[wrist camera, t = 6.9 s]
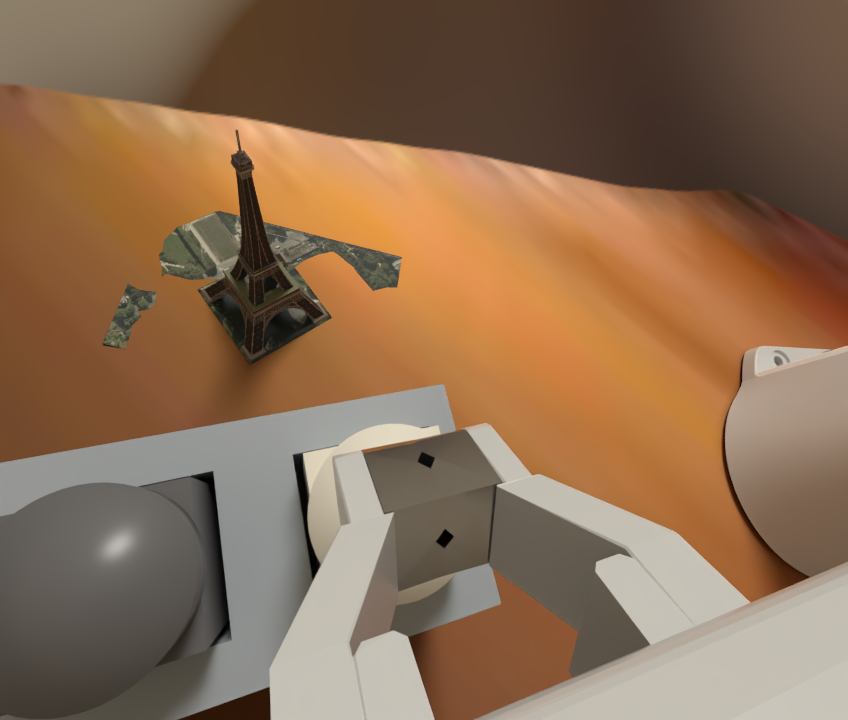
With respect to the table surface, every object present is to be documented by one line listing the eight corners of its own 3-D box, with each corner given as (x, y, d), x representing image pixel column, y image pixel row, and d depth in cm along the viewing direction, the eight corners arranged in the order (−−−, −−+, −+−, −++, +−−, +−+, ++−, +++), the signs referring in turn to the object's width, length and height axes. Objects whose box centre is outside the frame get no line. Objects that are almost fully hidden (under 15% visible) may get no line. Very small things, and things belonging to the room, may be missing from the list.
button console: (398, 427, 26) (443, 383, 18) (432, 574, 24) (501, 603, 15) (-98, 528, 19) (-402, 534, 11) (-114, 748, 17) (-510, 965, 9)
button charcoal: (230, 484, 19) (187, 463, 12) (245, 609, 17) (207, 670, 10) (95, 513, 17) (-48, 510, 10) (101, 652, 16) (-60, 760, 9)
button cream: (402, 446, 21) (453, 409, 14) (426, 554, 20) (496, 574, 13) (297, 469, 19) (294, 441, 12) (316, 588, 18) (325, 631, 11)
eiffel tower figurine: (404, 260, 30) (472, 84, 18) (381, 404, 27) (447, 306, 14) (166, 201, 27) (56, -54, 15) (103, 354, 24) (-108, 178, 12)
